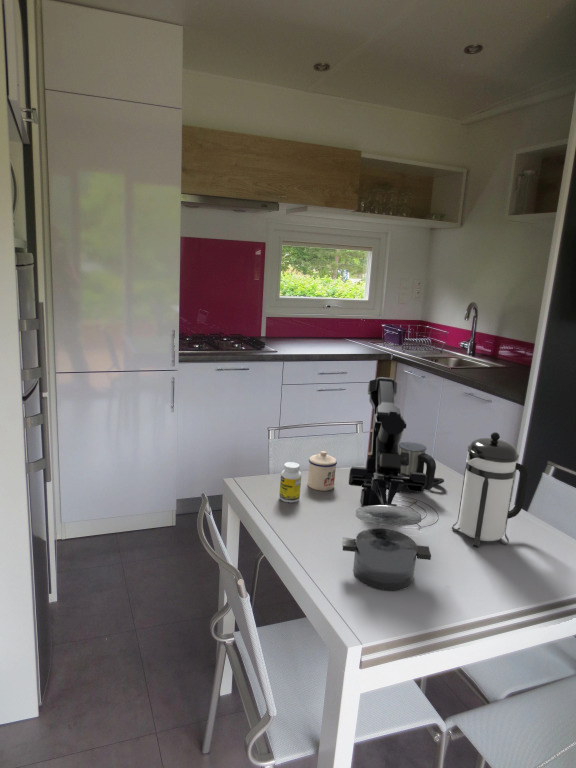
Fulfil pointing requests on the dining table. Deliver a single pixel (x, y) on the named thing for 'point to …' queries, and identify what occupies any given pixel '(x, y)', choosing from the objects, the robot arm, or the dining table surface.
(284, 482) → the pill bottle
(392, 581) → the steel pot
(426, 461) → the milk frother
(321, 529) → the dining table surface
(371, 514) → the pot lid
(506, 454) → the coffee press
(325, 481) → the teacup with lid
